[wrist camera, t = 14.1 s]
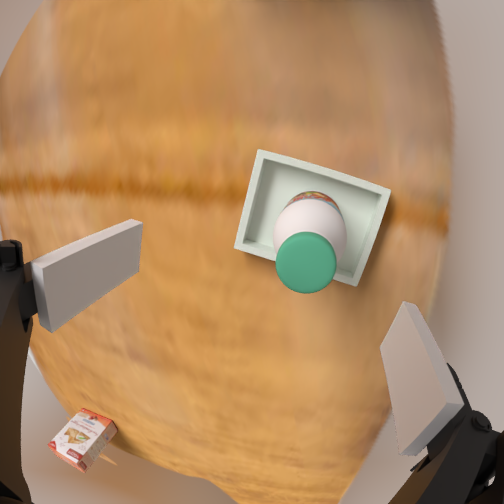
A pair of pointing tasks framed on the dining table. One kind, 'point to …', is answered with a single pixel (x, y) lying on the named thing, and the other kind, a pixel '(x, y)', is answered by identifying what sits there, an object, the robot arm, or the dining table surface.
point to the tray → (301, 179)
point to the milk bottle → (309, 241)
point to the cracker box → (83, 439)
